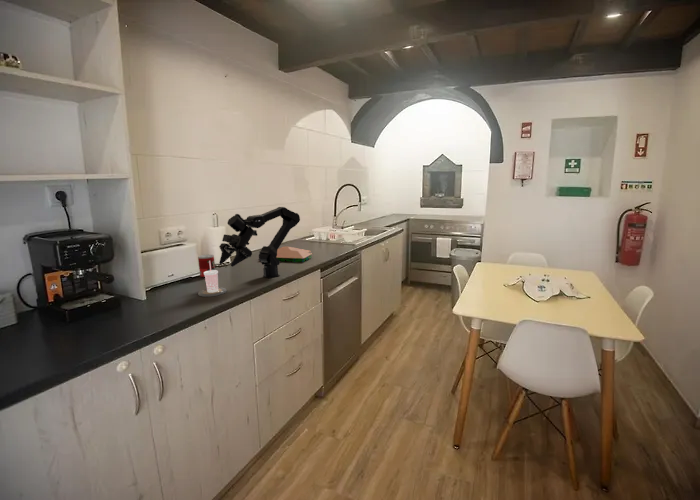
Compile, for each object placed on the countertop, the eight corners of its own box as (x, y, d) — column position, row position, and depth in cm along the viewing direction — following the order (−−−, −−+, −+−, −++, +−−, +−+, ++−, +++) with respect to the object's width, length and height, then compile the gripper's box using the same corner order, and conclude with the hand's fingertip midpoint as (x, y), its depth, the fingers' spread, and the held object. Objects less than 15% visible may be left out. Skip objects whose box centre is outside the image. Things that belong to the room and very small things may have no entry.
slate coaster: (221, 287, 169) (220, 285, 169) (230, 292, 160) (230, 291, 160) (194, 292, 162) (194, 291, 161) (203, 298, 152) (203, 297, 152)
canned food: (210, 278, 187) (208, 257, 185) (197, 277, 189) (194, 257, 187) (218, 274, 194) (216, 254, 192) (205, 274, 196) (203, 254, 194)
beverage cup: (218, 292, 158) (214, 261, 156) (203, 293, 158) (200, 262, 155) (221, 288, 164) (218, 258, 162) (207, 289, 164) (204, 259, 161)
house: (273, 254, 247) (272, 243, 246) (317, 255, 238) (317, 243, 237) (255, 261, 226) (254, 249, 224) (303, 263, 216) (303, 250, 215)
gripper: (220, 226, 171) (201, 253, 165) (244, 228, 160) (225, 257, 154) (236, 240, 179) (219, 266, 173) (259, 243, 168) (242, 271, 161)
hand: (225, 265), depth 165 cm, fingers open, 9 cm apart
